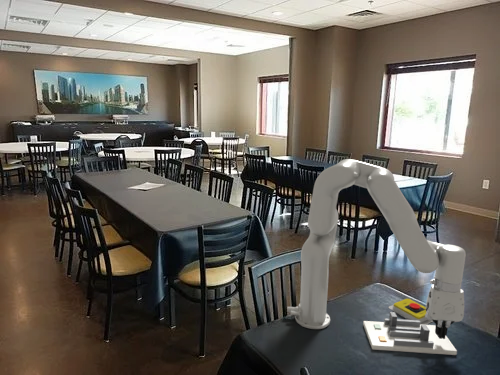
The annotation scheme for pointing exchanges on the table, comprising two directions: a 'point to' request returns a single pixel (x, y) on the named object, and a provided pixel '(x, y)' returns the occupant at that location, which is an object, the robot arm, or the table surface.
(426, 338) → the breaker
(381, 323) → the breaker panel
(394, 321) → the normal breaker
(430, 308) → the robot arm
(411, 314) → the emergency button
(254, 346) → the table surface
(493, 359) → the table surface
